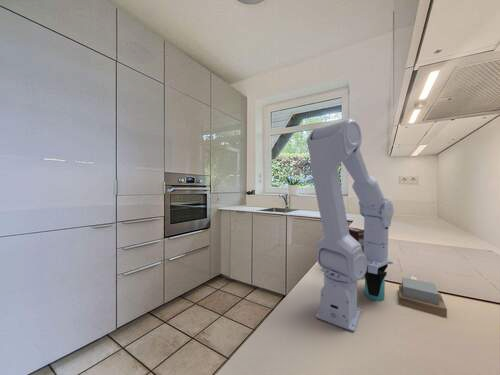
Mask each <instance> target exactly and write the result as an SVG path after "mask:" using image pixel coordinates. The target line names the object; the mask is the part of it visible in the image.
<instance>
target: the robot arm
mask: <svg viewBox="0 0 500 375" xmlns="http://www.w3.org/2000/svg"><path fill="white" fill-rule="evenodd" d="M362 140H363V135H362V132H361V127H360V125H359V123H358V122H357V121H356V120H355V119H354V118H347V119H345V120H342V121H340V122H336V123H335V122H334V123H332V124H328V125H324V126H322V127H316V128H313V129H312V131H311V132H310V134H309V135H308V137H307V139H306V144H307V149H308V155H309V159H310V160H309V164H310V165H309V166H310V172H311V177H312V179H313V181H312V182H313V186H314V190H315V195H316V201H317V206H318V211H319V215H320V220H321V225H322V230H323V236H322V237H320V239H318V241H317V243H316V248H317V252H316V259H317V260H316V261H317V264H318V265H319V267H321V272H323V277H324V278H323V285H322V288H321V290H320V301H319V302H320V307H319V309H318V311H317V312H316V314H315V317H316V319H319V320H322V321H325V322H326V323H329V324H333V325H334V326H337V327H340V328H343V329H345V330H347V331H351V332H355V330H356V327H357V324H358V322H359V318H360V314H361V311H362V310H361V308H359V307H358V281H360V280H362V279H361V278H363V276H365V278H363V279H364V280H365V279H366V282H367V288H368V292H369V295H373V296H376V297H378V295H379V292H380V287H381V284H382V281H383V279H384V280H385V278H386V276H387V274H388V273H387V272H388V271H386V269H388V266H389V265H393V264H394V260H393V259H391V258H390V259H389V256H388V255H389V227H391V224H392V218H393V215H394V210H395V209H394V205H393V203H392V201H391V200H389V199H387V198H386V197H385V196H384V193H383V192H382V190H381V187H380V185H379V183H378V181H377V179H376V177H374V176H372V175H369V172H368V170H367V166H366V164H365V160H364V159H363V155H362V153H361V150H360V149H361V145H362ZM341 163H342V164H343V166H344V168H345V169H346V171H347V172H348V174H349V175H350V177H351V178H352V181H354V182H353V184H352V190H353V192H354V193H355V195H356V197H357V199H358V206H359V213H360V215H361V216H362V217H363V218H364V222H363V224H364V225H363V230H364V253H363V251H362V247H361V244H360V243H359V242H358V241H356V240H355V239H354V238H353V237H352V236H351V235H350V234H349V229H348V226H349V224H348V217H347V213H346V207H345V201H344V197H343V196H344V195H343V191H342V186H341V179H340V174H339V168H340V165H341Z"/></svg>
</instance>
